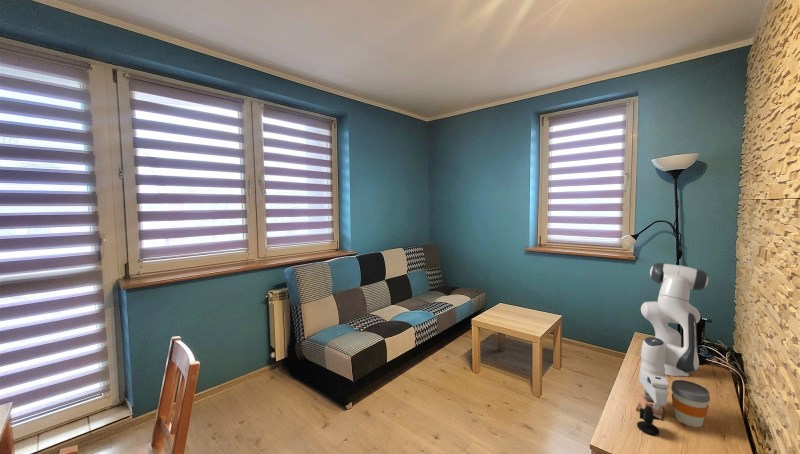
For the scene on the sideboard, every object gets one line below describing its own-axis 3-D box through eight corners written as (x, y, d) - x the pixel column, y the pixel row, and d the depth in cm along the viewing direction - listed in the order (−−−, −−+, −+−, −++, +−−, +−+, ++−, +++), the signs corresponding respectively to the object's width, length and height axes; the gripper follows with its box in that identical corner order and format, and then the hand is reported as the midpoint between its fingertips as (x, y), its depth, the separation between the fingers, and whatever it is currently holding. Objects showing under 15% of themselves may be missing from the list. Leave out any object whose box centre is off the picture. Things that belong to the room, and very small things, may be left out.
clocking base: (641, 401, 153) (641, 389, 152) (665, 410, 146) (665, 397, 145) (636, 410, 146) (636, 398, 146) (660, 420, 139) (661, 407, 139)
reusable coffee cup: (662, 410, 146) (664, 379, 145) (690, 410, 145) (692, 379, 144) (686, 430, 133) (688, 396, 132) (716, 430, 133) (719, 396, 132)
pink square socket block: (639, 402, 150) (639, 394, 150) (655, 405, 148) (656, 397, 148) (644, 411, 144) (645, 403, 144) (662, 414, 142) (662, 405, 141)
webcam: (637, 420, 139) (638, 399, 139) (659, 428, 135) (660, 405, 134) (636, 430, 133) (637, 408, 133) (659, 438, 129) (660, 415, 128)
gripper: (635, 361, 155) (634, 388, 157) (653, 384, 136) (652, 414, 137) (650, 363, 153) (649, 390, 154) (671, 387, 134) (669, 417, 135)
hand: (651, 402), depth 146 cm, fingers open, 8 cm apart
